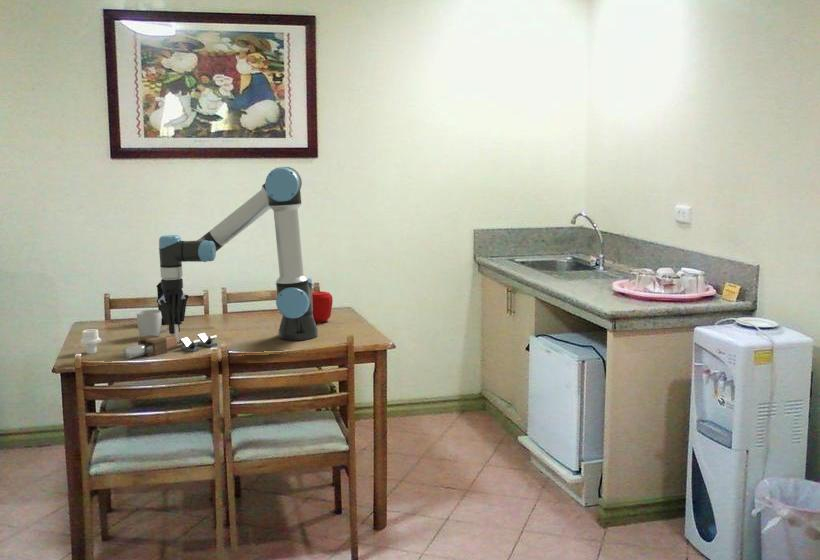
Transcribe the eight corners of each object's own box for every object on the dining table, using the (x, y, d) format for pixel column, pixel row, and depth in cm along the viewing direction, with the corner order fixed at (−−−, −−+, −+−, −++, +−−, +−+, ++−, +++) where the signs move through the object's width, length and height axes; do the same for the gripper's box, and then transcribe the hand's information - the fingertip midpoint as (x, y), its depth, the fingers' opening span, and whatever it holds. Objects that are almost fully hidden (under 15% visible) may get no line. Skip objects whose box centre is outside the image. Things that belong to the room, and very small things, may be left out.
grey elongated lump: (146, 350, 277) (147, 340, 276) (154, 354, 275) (155, 344, 274) (122, 357, 269) (123, 346, 268) (130, 361, 267) (131, 350, 266)
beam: (197, 344, 288) (196, 330, 287) (150, 356, 271) (150, 341, 270) (180, 341, 293) (179, 327, 292) (133, 353, 275) (133, 338, 274)
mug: (138, 341, 294) (136, 315, 292) (138, 336, 302) (136, 310, 301) (173, 338, 298) (171, 312, 296) (172, 333, 306) (170, 308, 305)
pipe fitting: (99, 354, 274) (97, 332, 273) (78, 355, 273) (76, 332, 272) (104, 350, 280) (103, 328, 279) (84, 350, 280) (82, 328, 278)
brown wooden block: (177, 347, 284) (176, 336, 283) (153, 353, 275) (152, 342, 274) (170, 346, 286) (170, 335, 285) (147, 352, 277) (146, 341, 276)
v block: (217, 345, 286) (217, 335, 285) (194, 352, 277) (193, 341, 276) (203, 343, 290) (203, 332, 289) (180, 349, 280) (179, 338, 280)
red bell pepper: (337, 321, 327) (337, 289, 325) (317, 324, 320) (316, 292, 318) (323, 317, 335) (322, 286, 333) (303, 320, 328) (302, 289, 326)
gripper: (178, 274, 289) (182, 337, 292) (150, 279, 278) (153, 344, 282) (192, 276, 285) (195, 339, 288) (164, 281, 274) (167, 346, 278)
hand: (175, 341), depth 285 cm, fingers closed
